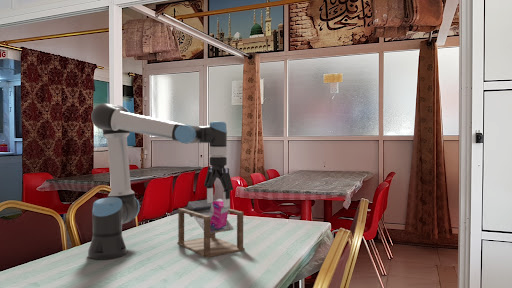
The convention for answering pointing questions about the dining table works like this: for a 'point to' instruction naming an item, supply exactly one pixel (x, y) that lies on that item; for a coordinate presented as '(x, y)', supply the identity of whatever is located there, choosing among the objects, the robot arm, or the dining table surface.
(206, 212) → the trapdoor
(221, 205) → the supplement box
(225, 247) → the frame
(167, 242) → the dining table surface
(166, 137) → the robot arm
